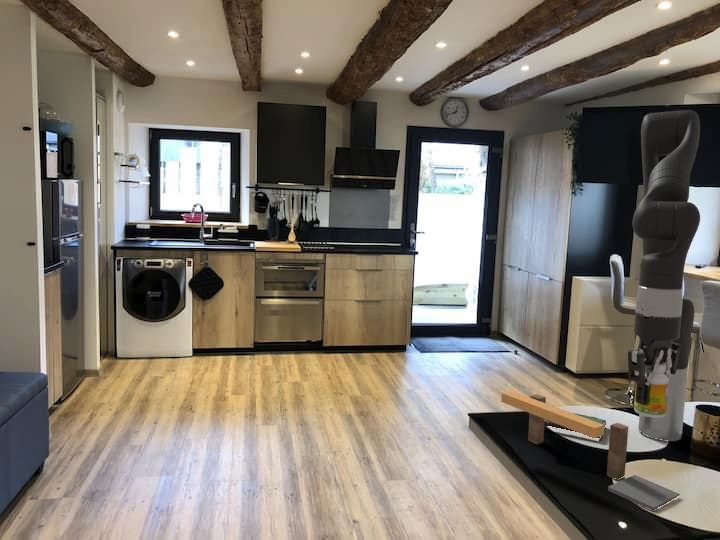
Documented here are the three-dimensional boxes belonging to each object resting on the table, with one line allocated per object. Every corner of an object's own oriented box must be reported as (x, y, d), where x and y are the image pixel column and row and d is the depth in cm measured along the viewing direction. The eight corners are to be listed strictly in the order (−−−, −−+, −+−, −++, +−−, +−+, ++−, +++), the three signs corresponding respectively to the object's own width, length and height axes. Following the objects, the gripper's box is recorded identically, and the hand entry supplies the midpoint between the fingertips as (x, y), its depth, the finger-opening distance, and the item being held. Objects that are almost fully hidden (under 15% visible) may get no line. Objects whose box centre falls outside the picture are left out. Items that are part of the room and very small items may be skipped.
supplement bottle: (631, 414, 107) (635, 363, 106) (635, 405, 112) (639, 356, 111) (664, 420, 105) (669, 368, 103) (667, 411, 109) (671, 361, 108)
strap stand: (534, 438, 135) (537, 394, 134) (624, 477, 117) (628, 426, 115) (528, 440, 134) (530, 395, 132) (617, 480, 115) (621, 429, 114)
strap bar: (510, 399, 129) (510, 390, 129) (603, 435, 110) (604, 425, 110) (501, 401, 127) (501, 392, 127) (594, 438, 109) (595, 428, 108)
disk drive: (534, 431, 141) (599, 444, 134) (535, 420, 141) (600, 432, 133) (544, 417, 150) (605, 429, 143) (544, 407, 150) (606, 418, 142)
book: (634, 478, 116) (634, 474, 116) (679, 497, 109) (679, 493, 109) (607, 490, 111) (608, 486, 111) (653, 511, 104) (653, 507, 104)
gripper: (659, 304, 113) (652, 388, 115) (616, 311, 105) (609, 401, 107) (699, 311, 107) (691, 399, 109) (656, 319, 99) (649, 414, 101)
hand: (650, 400), depth 108 cm, fingers closed on supplement bottle, 5 cm apart
